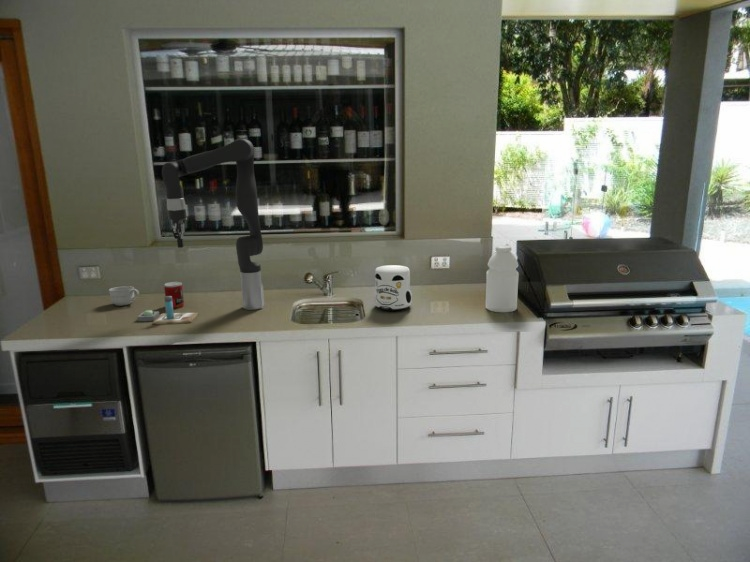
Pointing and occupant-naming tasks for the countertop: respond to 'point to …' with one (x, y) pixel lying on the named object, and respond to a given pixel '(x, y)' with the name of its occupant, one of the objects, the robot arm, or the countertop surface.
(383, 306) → the milk container
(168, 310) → the marker
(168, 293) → the canned food
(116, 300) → the teacup
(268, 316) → the countertop surface
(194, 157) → the robot arm
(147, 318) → the button housing
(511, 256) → the bottle
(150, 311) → the mint green capsule
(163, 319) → the board
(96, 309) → the countertop surface
